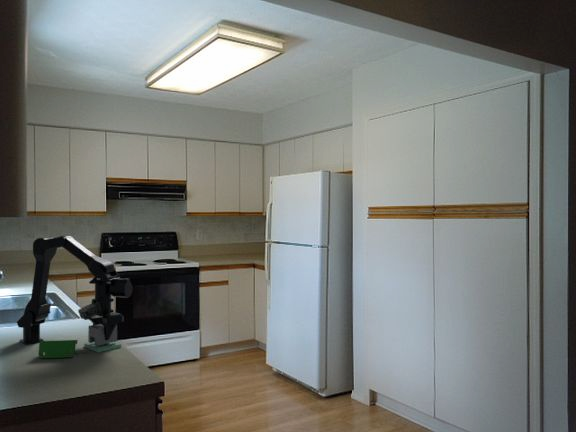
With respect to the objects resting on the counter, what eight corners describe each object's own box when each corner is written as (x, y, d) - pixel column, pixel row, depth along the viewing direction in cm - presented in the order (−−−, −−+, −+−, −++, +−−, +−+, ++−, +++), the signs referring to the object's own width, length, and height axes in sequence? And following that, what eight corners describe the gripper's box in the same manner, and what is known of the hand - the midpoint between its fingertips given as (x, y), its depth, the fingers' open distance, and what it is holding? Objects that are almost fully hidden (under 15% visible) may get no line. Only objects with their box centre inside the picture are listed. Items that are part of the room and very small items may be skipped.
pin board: (84, 346, 183) (84, 338, 183) (107, 342, 189) (107, 333, 189) (97, 352, 176) (97, 343, 176) (121, 347, 183) (121, 338, 183)
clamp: (70, 366, 174) (83, 341, 177) (66, 367, 168) (79, 342, 171) (37, 353, 173) (50, 328, 176) (32, 354, 167) (45, 328, 170)
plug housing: (88, 342, 182) (88, 325, 182) (108, 338, 188) (109, 322, 188) (96, 345, 178) (96, 328, 178) (117, 341, 184) (117, 325, 184)
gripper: (69, 295, 183) (69, 337, 183) (94, 302, 170) (94, 348, 171) (98, 291, 191) (98, 332, 191) (124, 298, 178) (123, 341, 179)
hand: (102, 338), depth 183 cm, fingers closed on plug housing, 6 cm apart
